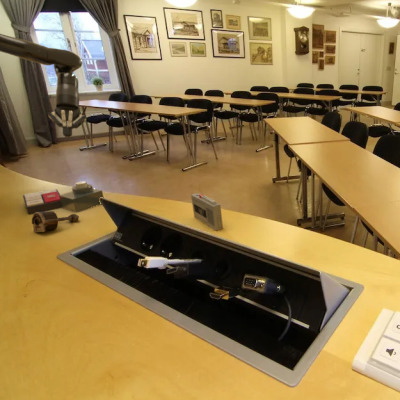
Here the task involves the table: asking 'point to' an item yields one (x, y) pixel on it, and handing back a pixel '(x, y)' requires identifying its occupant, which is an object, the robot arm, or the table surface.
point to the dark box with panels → (42, 201)
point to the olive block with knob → (81, 198)
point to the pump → (81, 184)
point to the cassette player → (207, 211)
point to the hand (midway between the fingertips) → (67, 136)
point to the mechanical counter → (49, 220)
